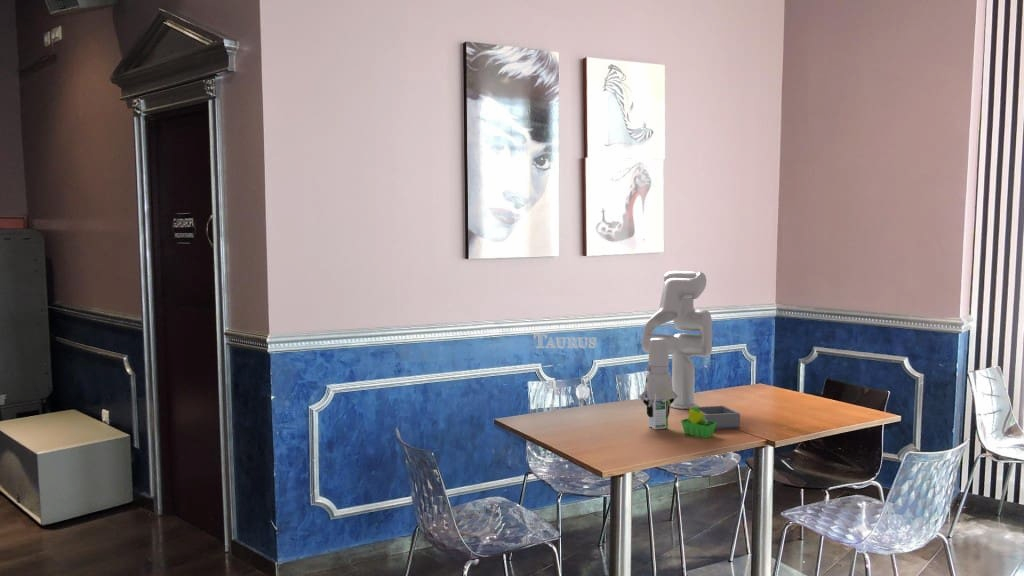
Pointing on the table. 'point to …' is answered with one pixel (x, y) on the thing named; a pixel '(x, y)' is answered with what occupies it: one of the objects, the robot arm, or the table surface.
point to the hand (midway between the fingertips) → (658, 415)
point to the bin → (721, 417)
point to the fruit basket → (698, 424)
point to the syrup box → (659, 414)
